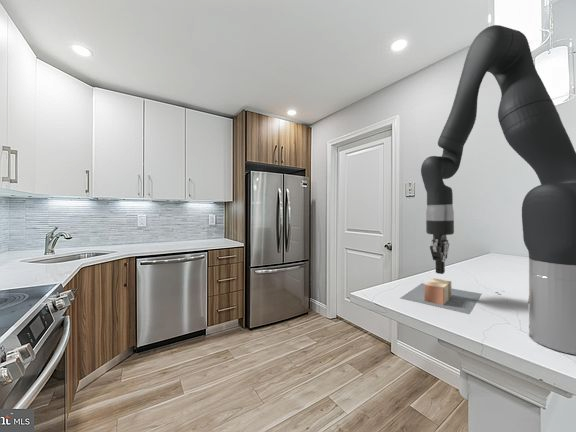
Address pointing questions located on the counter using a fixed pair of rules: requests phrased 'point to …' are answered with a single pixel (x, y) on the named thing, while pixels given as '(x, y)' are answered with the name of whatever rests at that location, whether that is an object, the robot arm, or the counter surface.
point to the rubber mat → (457, 302)
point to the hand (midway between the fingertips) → (440, 273)
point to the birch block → (437, 291)
